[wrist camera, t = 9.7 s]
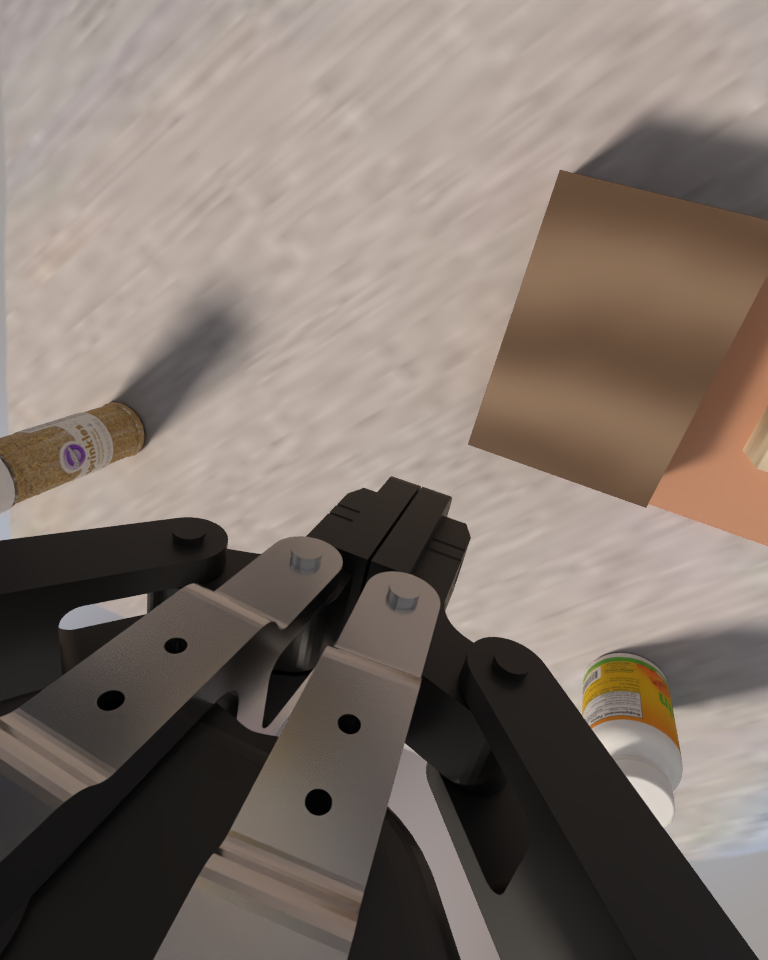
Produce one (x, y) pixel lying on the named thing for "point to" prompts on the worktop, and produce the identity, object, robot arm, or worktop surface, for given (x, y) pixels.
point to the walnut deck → (618, 333)
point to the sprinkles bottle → (66, 450)
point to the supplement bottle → (636, 726)
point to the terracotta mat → (726, 441)
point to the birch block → (759, 444)
